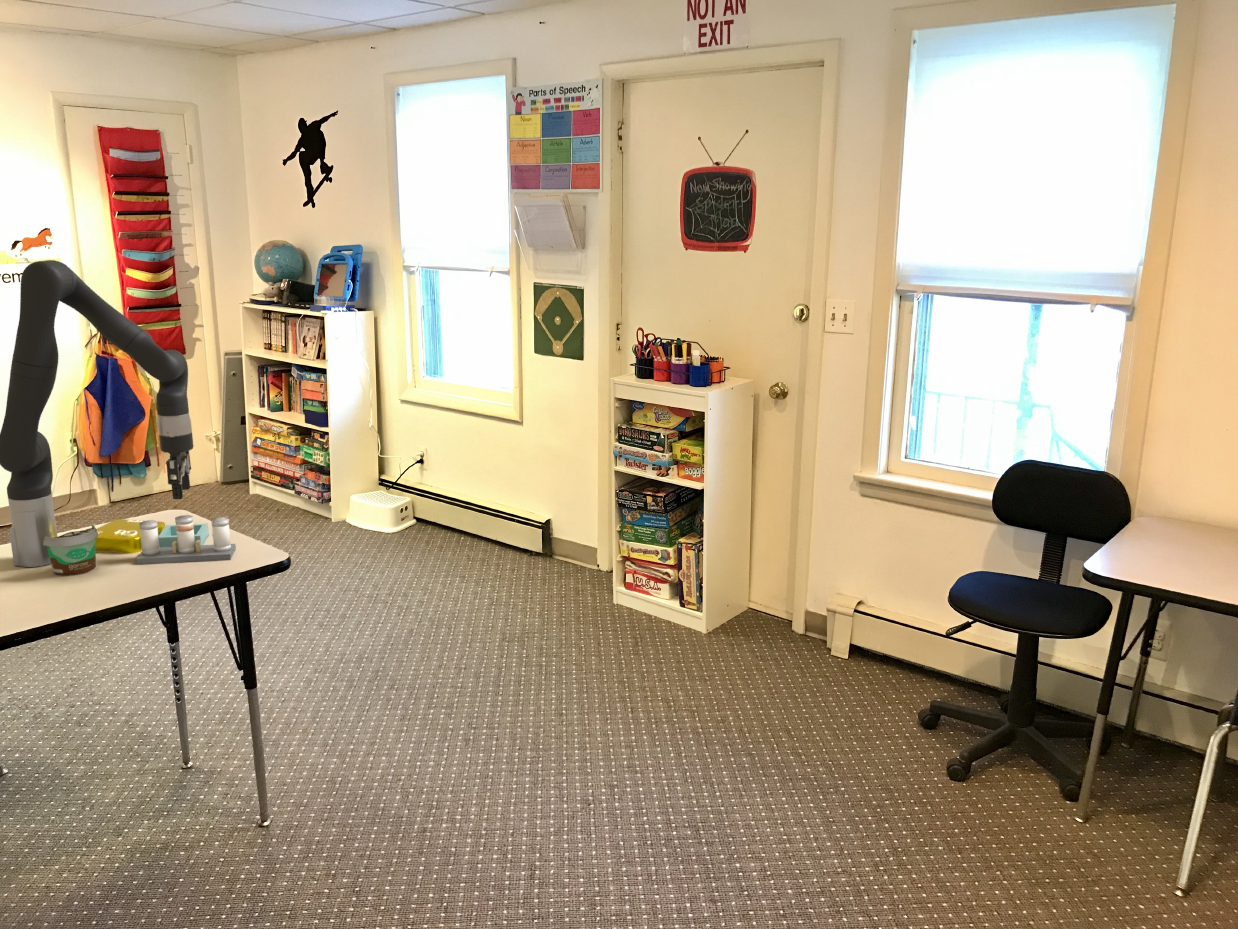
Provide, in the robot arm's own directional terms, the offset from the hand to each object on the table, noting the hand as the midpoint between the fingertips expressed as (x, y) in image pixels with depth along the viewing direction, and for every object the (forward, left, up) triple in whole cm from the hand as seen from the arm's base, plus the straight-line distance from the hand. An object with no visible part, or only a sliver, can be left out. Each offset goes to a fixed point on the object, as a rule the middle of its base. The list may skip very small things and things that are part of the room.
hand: (181, 494), depth 236 cm
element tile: (-18, +14, -17) cm, 28 cm away
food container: (-23, -7, -17) cm, 29 cm away
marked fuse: (0, 0, -15) cm, 15 cm away
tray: (-3, +11, -17) cm, 20 cm away
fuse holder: (0, 0, -17) cm, 17 cm away
